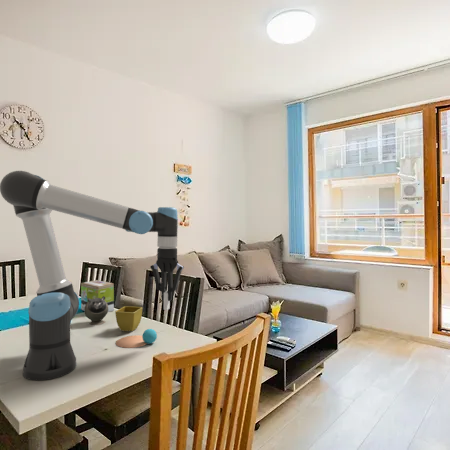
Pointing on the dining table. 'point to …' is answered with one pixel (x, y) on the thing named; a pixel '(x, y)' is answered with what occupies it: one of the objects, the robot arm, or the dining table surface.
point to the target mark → (131, 341)
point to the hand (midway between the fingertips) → (166, 308)
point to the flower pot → (128, 318)
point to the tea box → (97, 292)
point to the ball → (149, 336)
